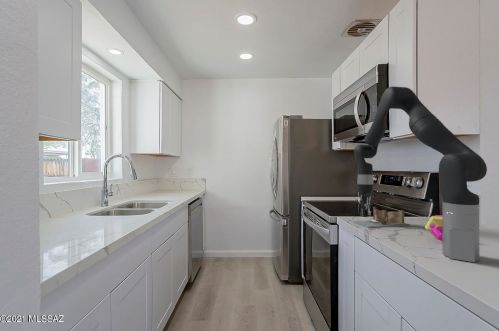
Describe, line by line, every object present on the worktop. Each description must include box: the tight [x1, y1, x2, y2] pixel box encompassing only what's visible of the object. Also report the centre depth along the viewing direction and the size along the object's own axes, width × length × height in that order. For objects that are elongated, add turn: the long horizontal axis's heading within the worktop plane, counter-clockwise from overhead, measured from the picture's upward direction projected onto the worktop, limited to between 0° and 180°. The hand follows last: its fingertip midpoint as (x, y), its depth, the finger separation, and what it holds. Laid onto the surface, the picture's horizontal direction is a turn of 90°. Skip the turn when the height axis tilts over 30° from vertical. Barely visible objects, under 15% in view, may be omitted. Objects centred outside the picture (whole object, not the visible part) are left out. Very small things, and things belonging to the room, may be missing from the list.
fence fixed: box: [381, 209, 405, 225], centre depth 129 cm, size 12×2×8 cm, turn 101°
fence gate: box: [372, 206, 382, 223], centre depth 134 cm, size 9×2×6 cm, turn 178°
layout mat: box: [352, 219, 411, 229], centre depth 131 cm, size 23×12×1 cm, turn 101°
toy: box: [424, 214, 443, 242], centre depth 104 cm, size 10×18×10 cm, turn 150°
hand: (365, 216), depth 135 cm, fingers closed
